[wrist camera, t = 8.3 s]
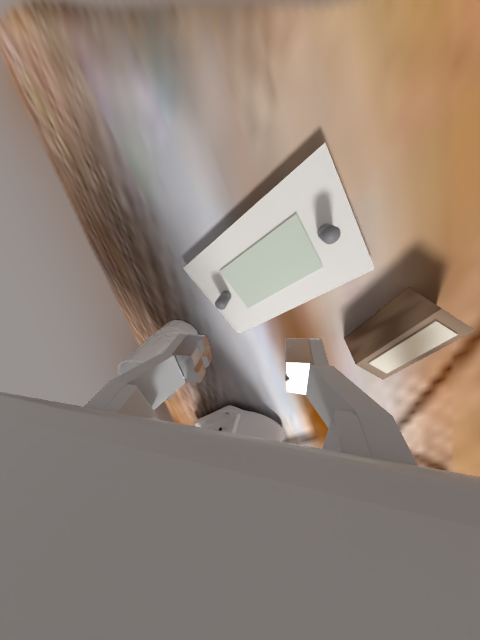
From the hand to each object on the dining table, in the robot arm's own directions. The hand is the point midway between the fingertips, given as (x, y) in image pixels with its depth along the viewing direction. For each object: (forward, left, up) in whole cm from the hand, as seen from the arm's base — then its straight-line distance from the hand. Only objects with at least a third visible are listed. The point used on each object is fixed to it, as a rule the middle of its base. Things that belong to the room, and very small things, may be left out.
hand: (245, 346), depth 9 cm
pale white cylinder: (-19, -2, -15) cm, 24 cm away
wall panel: (0, 0, -15) cm, 15 cm away
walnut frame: (+8, -14, -15) cm, 22 cm away
